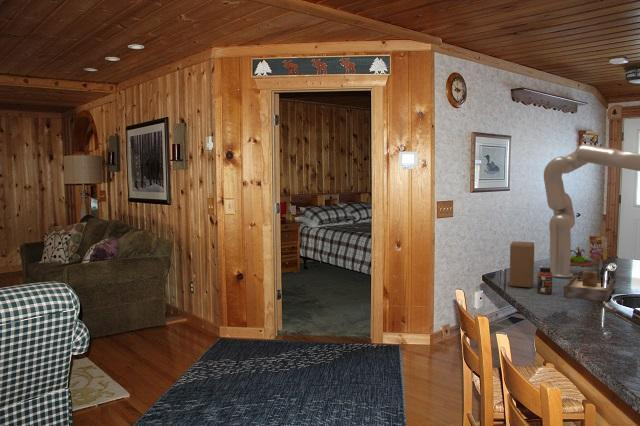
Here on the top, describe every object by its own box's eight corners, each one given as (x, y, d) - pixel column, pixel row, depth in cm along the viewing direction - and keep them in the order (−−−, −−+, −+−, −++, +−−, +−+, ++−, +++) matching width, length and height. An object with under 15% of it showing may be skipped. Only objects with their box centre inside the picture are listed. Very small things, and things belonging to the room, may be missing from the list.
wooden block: (533, 284, 235) (534, 242, 233) (532, 288, 226) (533, 244, 224) (510, 282, 239) (511, 241, 238) (509, 286, 230) (510, 243, 228)
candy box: (588, 261, 298) (588, 235, 297) (592, 260, 300) (593, 235, 299) (602, 263, 290) (603, 237, 289) (607, 262, 292) (608, 236, 291)
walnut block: (582, 285, 216) (582, 272, 216) (584, 283, 220) (584, 270, 220) (595, 287, 213) (595, 273, 213) (596, 285, 217) (597, 271, 217)
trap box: (563, 296, 209) (563, 286, 209) (573, 284, 232) (574, 275, 232) (607, 301, 200) (607, 290, 200) (613, 288, 223) (613, 279, 223)
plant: (552, 266, 284) (553, 246, 283) (566, 262, 297) (566, 243, 296) (590, 270, 269) (591, 250, 268) (603, 266, 282) (603, 246, 281)
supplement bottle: (545, 295, 212) (546, 268, 212) (533, 292, 218) (534, 266, 217) (555, 293, 215) (555, 267, 214) (543, 290, 220) (543, 265, 220)
